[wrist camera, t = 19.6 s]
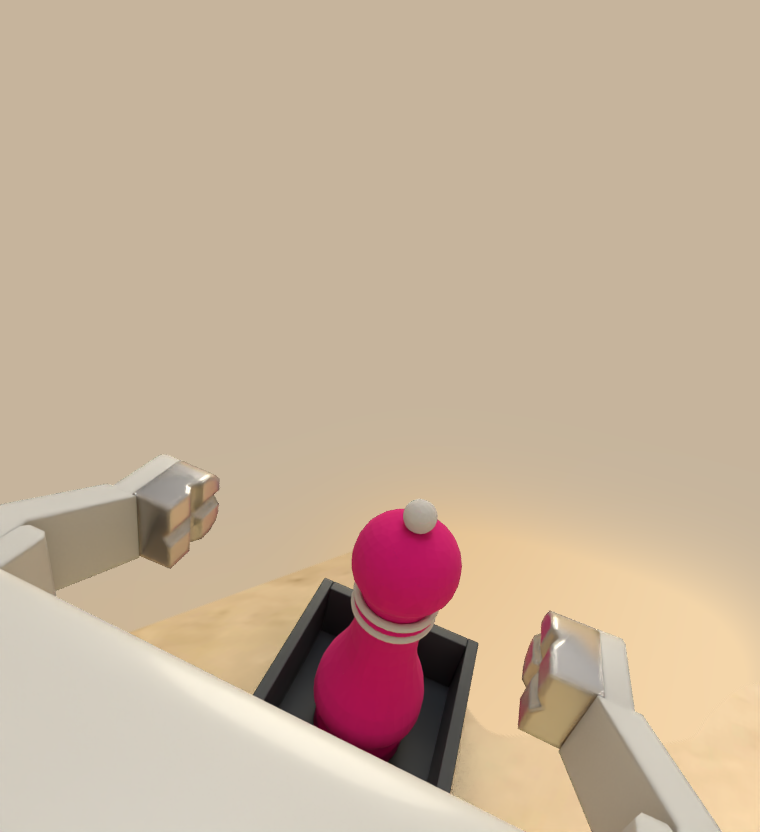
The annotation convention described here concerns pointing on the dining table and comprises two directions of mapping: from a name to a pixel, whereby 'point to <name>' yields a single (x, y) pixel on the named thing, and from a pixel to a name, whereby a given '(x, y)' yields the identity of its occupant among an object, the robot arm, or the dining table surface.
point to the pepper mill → (387, 629)
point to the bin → (442, 673)
